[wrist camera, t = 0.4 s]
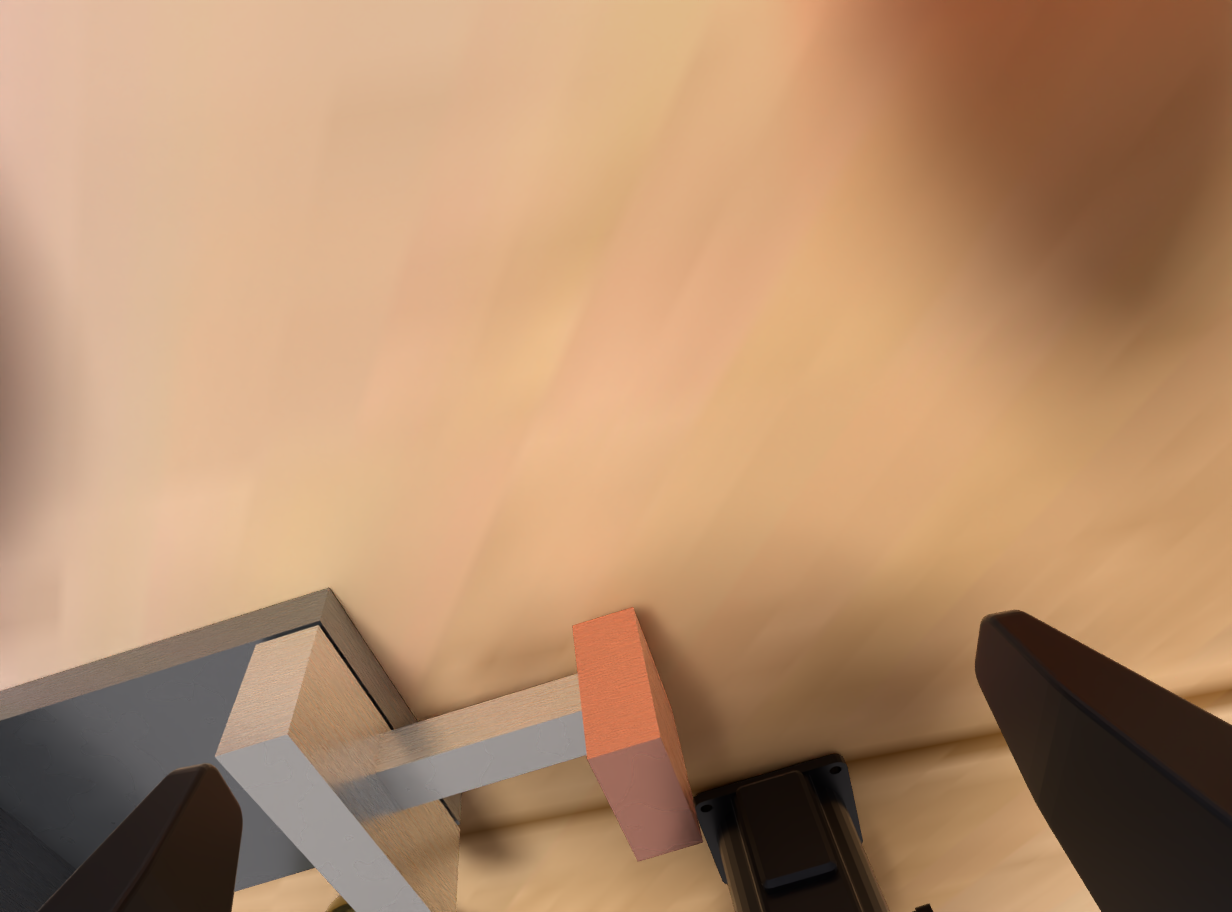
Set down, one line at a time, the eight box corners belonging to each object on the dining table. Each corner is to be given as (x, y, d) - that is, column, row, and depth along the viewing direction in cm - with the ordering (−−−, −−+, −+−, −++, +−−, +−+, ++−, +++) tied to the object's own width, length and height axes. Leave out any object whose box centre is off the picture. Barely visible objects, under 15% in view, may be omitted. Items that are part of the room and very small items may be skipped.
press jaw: (691, 759, 29) (724, 894, 25) (409, 844, 29) (393, 990, 25) (605, 535, 23) (629, 660, 19) (255, 644, 24) (201, 791, 19)
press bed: (461, 789, 31) (454, 934, 26) (106, 895, 31) (37, 1056, 27) (328, 587, 25) (289, 727, 20) (-103, 723, 26) (-239, 890, 21)
